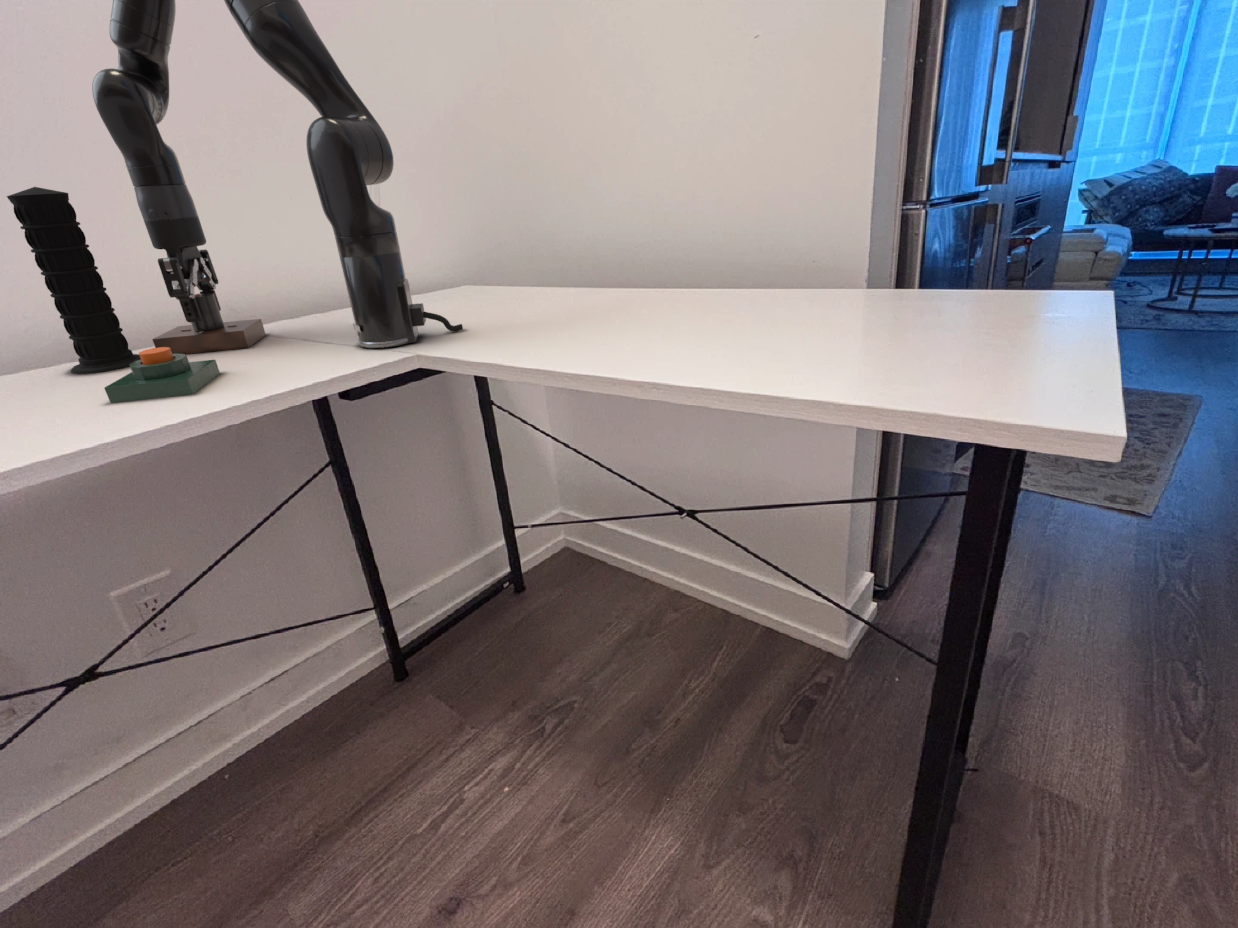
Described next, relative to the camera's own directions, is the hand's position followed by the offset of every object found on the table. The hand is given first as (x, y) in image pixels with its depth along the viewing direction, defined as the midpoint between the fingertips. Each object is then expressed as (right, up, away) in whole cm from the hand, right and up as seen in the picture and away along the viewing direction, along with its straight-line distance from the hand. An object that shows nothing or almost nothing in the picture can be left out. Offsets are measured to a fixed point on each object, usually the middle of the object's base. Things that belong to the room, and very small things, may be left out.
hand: (205, 316), depth 107 cm
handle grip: (-11, -10, -7) cm, 16 cm away
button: (+8, -12, -22) cm, 26 cm away
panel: (0, -4, +2) cm, 5 cm away
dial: (0, -2, +1) cm, 2 cm away
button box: (+8, -15, -20) cm, 26 cm away
